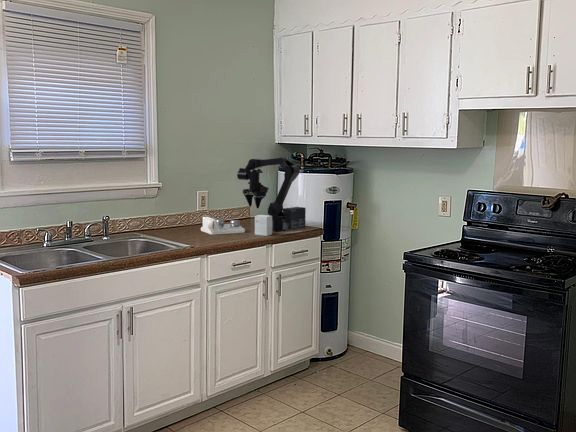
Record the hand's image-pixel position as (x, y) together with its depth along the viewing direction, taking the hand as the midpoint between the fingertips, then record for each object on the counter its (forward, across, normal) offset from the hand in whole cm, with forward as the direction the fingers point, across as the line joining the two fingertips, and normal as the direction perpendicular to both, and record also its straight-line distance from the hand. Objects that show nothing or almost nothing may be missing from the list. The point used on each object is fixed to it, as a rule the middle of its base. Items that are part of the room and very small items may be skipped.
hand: (254, 207), depth 350 cm
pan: (+10, -5, +19) cm, 22 cm away
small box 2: (+12, -9, -22) cm, 27 cm away
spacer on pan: (+9, -2, +22) cm, 24 cm away
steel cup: (+9, -8, +16) cm, 20 cm away
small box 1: (+12, -23, +6) cm, 27 cm away
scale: (+12, -5, +23) cm, 26 cm away
